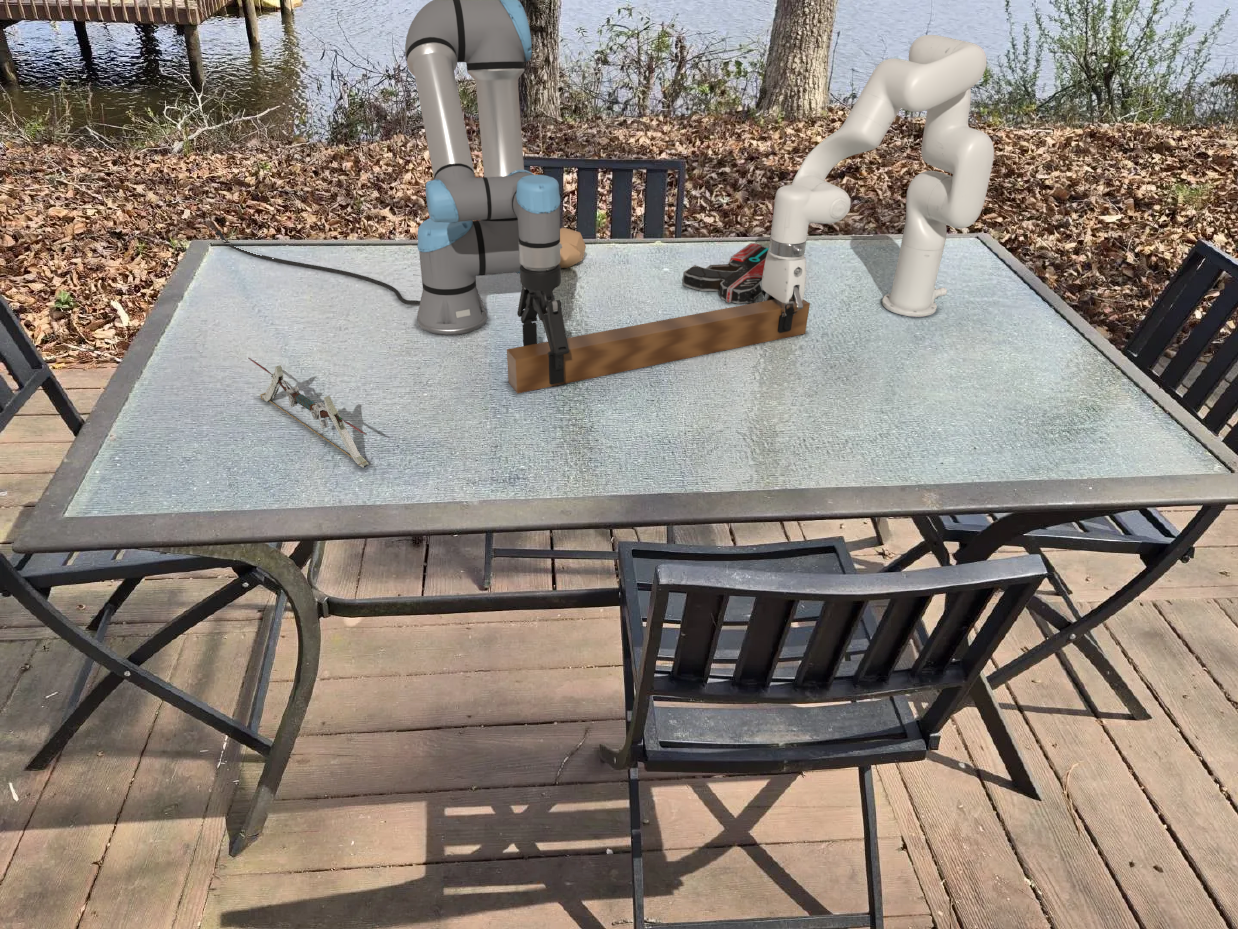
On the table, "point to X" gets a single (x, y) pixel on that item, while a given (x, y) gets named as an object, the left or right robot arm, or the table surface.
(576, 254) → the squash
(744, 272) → the gun
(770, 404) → the table surface
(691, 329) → the post
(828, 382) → the table surface
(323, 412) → the bow
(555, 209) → the left robot arm
